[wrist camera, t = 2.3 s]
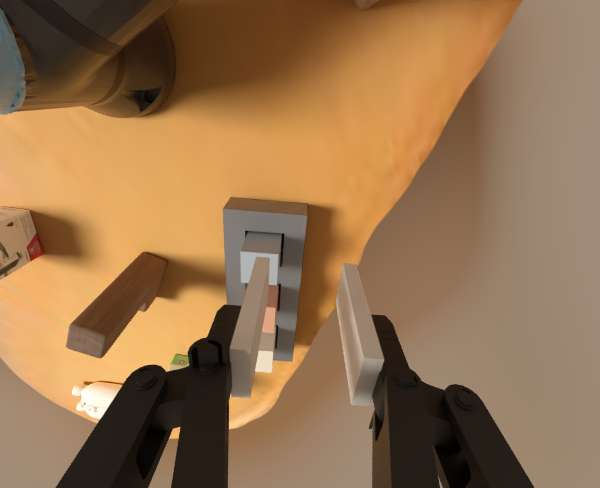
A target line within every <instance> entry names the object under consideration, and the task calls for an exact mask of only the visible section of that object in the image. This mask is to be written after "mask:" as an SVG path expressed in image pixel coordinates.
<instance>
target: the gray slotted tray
mask: <svg viewBox="0 0 600 488" xmlns="http://www.w3.org/2000/svg"><path fill="white" fill-rule="evenodd" d="M223 224H224V247H225V270H226V294H227V305H238V306H241V304H242V301H243V297H244V294H245V291H246V287H247V284H248V283H241V259H240V251H241V249H242V246H243V244H244V241H245V239H246V236H247V233H248V231H258V232H271V233H283V234H284V248H283V251H281V260H280V267H279V274H278V281H277V283H280V284H281V293H278V306H277V314H276V322H275V325H278V329H276V341H275V350H274V359H273V360H277V361H291V362H292V360H293V351H294V341H295V331H296V322H297V312H298V302H299V292H300V283H301V273H302V263H303V254H304V244H305V234H306V225H307V204H304V203H292V202H280V201H268V200H256V199H245V198H233V197H231V198H230V199H229V201H228V202H227V204H226V205H225V206H224V208H223Z"/></svg>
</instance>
